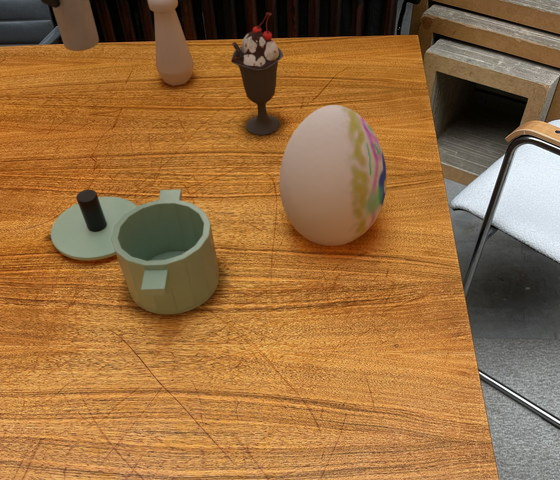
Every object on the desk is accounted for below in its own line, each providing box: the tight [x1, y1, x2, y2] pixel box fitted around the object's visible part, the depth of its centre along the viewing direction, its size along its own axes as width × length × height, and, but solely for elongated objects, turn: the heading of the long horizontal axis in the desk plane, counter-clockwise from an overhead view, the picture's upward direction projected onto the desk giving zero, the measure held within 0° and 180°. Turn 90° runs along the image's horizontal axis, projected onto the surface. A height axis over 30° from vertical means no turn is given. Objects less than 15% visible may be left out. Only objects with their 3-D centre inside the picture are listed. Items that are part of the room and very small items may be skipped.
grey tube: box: [51, 0, 100, 52], centre depth 78 cm, size 4×4×10 cm
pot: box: [111, 188, 220, 316], centre depth 70 cm, size 10×16×8 cm, turn 179°
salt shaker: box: [146, 0, 195, 87], centre depth 95 cm, size 6×6×13 cm
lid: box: [50, 188, 138, 262], centre depth 77 cm, size 11×11×6 cm
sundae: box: [230, 12, 284, 136], centre depth 85 cm, size 7×7×15 cm
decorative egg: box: [278, 104, 388, 247], centre depth 72 cm, size 12×12×15 cm
